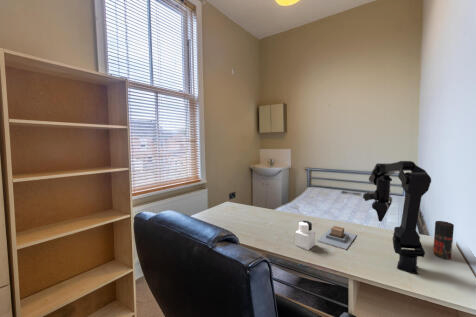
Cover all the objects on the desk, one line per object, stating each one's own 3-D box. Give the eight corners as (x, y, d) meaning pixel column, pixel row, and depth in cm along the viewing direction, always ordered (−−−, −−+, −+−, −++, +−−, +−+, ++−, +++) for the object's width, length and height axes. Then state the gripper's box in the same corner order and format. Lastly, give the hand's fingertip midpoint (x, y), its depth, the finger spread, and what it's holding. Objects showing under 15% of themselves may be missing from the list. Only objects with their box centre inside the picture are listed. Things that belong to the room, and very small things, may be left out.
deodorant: (432, 251, 102) (434, 219, 100) (450, 255, 98) (453, 222, 97) (433, 256, 97) (435, 223, 96) (452, 261, 93) (454, 227, 92)
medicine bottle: (302, 240, 114) (302, 218, 113) (315, 245, 109) (315, 221, 108) (294, 245, 109) (295, 222, 108) (308, 250, 104) (308, 226, 103)
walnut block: (341, 240, 113) (341, 231, 112) (331, 237, 116) (331, 228, 115) (343, 237, 116) (344, 227, 116) (334, 234, 120) (334, 225, 119)
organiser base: (346, 249, 104) (346, 245, 104) (317, 241, 113) (317, 237, 113) (356, 235, 119) (356, 231, 119) (330, 228, 128) (330, 225, 128)
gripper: (368, 183, 122) (367, 210, 123) (360, 189, 108) (359, 220, 109) (392, 185, 114) (391, 214, 116) (387, 192, 100) (386, 225, 102)
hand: (381, 218), depth 111 cm, fingers open, 9 cm apart
